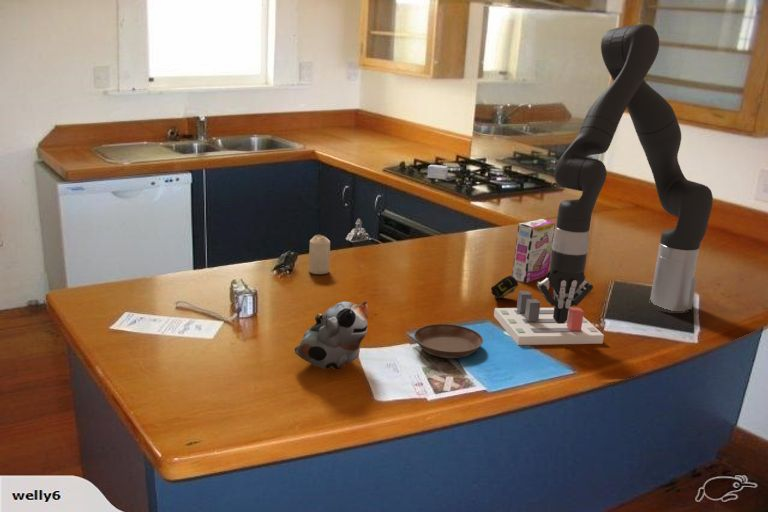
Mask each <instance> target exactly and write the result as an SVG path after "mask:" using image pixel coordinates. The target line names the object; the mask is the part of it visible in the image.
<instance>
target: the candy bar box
mask: <svg viewBox="0 0 768 512" xmlns="http://www.w3.org/2000/svg"><path fill="white" fill-rule="evenodd" d="M555 230H556V221H555V222H554V221H552V220H548V219H543V218H540V219H535V220H531V221H530V220H529V221H525V222H520V223H518V227H517V235H516V243H515V252H514V255H513V256H514V257H513V258H514V259H513V266H512V272H511V273H512V274H511V276H513V277H514V278H515V279H516V281H517V282H520V283H523V284H527V283H529V282H533V281H535V280H537V279H541V278H544V277H547V274H548V272H549V270H550V260H551V253H552V245H553V238H554V233H555Z"/></svg>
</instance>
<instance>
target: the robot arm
mask: <svg viewBox="0 0 768 512" xmlns="http://www.w3.org/2000/svg"><path fill="white" fill-rule="evenodd" d="M659 49H660V37H659V34H658V31H657V30H656V29H655V28H654V27H653V26H652V25H650V24H647V23H645V24H644V23H643V24H633V25H626V26H621V27H615V28H612V29H609V30H607V31H606V32H605V33H604V34H603V35H602V37H601V42H600V52H601V53H600V54H601V57H602V60H603V63H604V65H605V67H606V70H607V71H608V73H609V75H610V77H611V79H612V82H611V84H610V85H609V86H608V87H607V88H606V89H605V90H604V91H603V92H602V93H601V94H600V95H599V96H598V97H597V98H596V100H595V101H594V102H593V103H592V105H591V106H590V108H589V109H588V111H587V113H586V114H585V117H584V120H583V122H582V125H581V127H580V129H579V132H578V134H577V136H576V137H575V138H574V140H573V141H572V142H571V144H570V145H569V146H568V147H567V149H566V150H565V151H564V153H563V154H562V155H561V157H560V158H559V159H558V160H557V163H556V165H555V167H554V172H553V174H554V180H555V182H556V184H557V186H559V187H561V188H564V189H569V190H574V191H578V192H582V193H581V196H580V197H579V198H578V199H577V198H576V199H565V200H562V201H561V202H560V203H559V206H558V211H557V218H556V223H555V229H554V236H553V243H552V249H551V256H550V263H549V270H548V274H547V275H546V278H545V279H543V280H541V281H540V280H538V281H537V282H536V286H537V288H538V290H539V291H540V293H541V294H542V295H543V297H544V299H545V300H546V302H547V303H549V304H550V306H552V307H553V308H554V315H553V318H554V320H555V321H556V322H557V323H558V324H564V323H565V321H567V318H568V311H569V308H572V307H573V306H574V307H575V306H579V305H578V304H580V303H581V302H582V301H583V300H584V299H585V297H586V296H588V295H589V293H590V292H591V291H592V290H594V289H593V288H594V285H592V284H591V283H590V282H589V281H588V280H587V279H586V275H585V270H586V263H587V257H588V250H589V244H590V228H591V221H592V214H593V211H594V208H595V206H596V203H597V200H598V198H599V195H600V193H601V191H602V189H603V187H604V185H605V182H606V180H607V175H608V174H607V169H606V165H605V164H604V162H603V161H601V160H600V159H595V158H589V156H592V155H602V154H605V153H607V151H608V150H609V149H610V146H611V144H612V141H613V140H614V136H615V134H616V132H617V129H618V126H619V123H620V121H621V119H622V117H623V115H624V113H625V111H626V110H627V111H628V114H629V116H630V119H631V122H632V125H633V127H634V130H635V132H636V135H637V139H638V140H639V143H640V145H641V147H642V149H643V152H644V154H645V157H646V160H647V162H648V165H649V168H650V170H651V173H652V176H653V179H654V183H655V187H656V192H657V195H658V200H659V202H660V205H661V207H662V209H663V210H664V211H665V212H666V213H668V214H669V215H671V216H673V217H677V218H678V219H677V223H676V225H675V228H673V229H672V228H671V229H665V230H663V231H662V233H660V234H661V236H660V241H659V246H658V253H657V256H656V257H657V258H656V263H655V267H654V268H655V270H654V275H653V281H652V285H651V286H652V287H651V292H650V298H649V301H650V300H651V302H652V303H653V304H654V305H657V306H659V307H662V308H664V309H668V310H671V311H685V310H687V309H691V310H692V308H693V302H694V296H695V293H696V292H695V291H696V287H697V282H698V278H697V277H696V276H695V272H696V269H697V268H696V267H697V262H698V257H699V251H700V246H701V244H702V243H701V242H702V241H703V239H704V237H705V236H706V232H707V229H708V224H709V221H710V216H711V213H712V209H713V201H714V199H713V197H714V196H713V193H712V190H711V189H710V187H709V186H707V185H705V184H702V183H699V182H696V181H692V180H688V179H687V178H686V177H685V175H684V173H683V170H682V169H681V166H680V163H679V160H678V157H679V151H680V147H681V143H682V142H681V141H682V131H681V127H680V125H679V124H680V123H679V122H678V119H677V115H676V113H675V111H674V109H673V107H672V106H671V104H670V103H669V102H668V101H667V100H666V99H665V98H664V97H663V96H662V95H661V94H659V92H657V90H655V89H654V88H653V87H651V86H650V85H649V84H648V83H647V81H646V80H645V78H646V76H647V74H648V72H649V71H650V70H651V68H652V67H653V64H654V63H655V61H656V58H657V55H658V54H659ZM550 287H551V289H552V290H553V296H552V294H551V293H550V291H549V289H550Z"/></svg>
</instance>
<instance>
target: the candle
mask: <svg viewBox="0 0 768 512" xmlns="http://www.w3.org/2000/svg"><path fill="white" fill-rule="evenodd" d="M308 253H309V254H308V255H309V256H308V259H309V260H308V272H309V273H310V274H313V275H325V274H328V273H329V272H330V261H331V260H330V259H331V258H330V257H331V255H330V254H331V240H329V239H328V238H327V237H326V236H325V235H321V234H315V235H314V236H313V237H312V238H311V239H310V240H309V252H308Z"/></svg>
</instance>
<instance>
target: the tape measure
mask: <svg viewBox="0 0 768 512" xmlns="http://www.w3.org/2000/svg"><path fill="white" fill-rule="evenodd" d="M518 282H519V281H517V280H516V279H515V278H514V277H513V276H512V275H508V276H506V277H504V278H502V279H501V280H500V281H498V282H497V283H495V284H494V285H493V286H492V287H491V292H490V293H491V294H492V295H493V296H494V297H495V298H496V299H498V300H500V299H502V298H503V299H504V298H505V297H507V296H508V295H510V294H512V293H515V290H516V289H517V288H518V287H519V283H518Z"/></svg>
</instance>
